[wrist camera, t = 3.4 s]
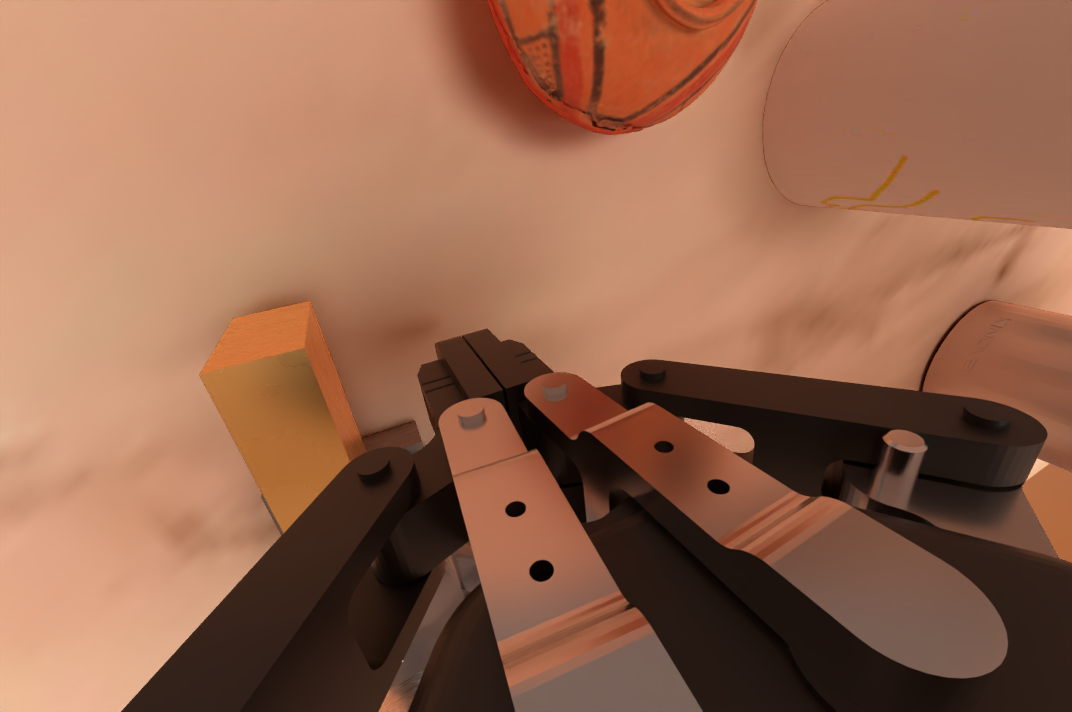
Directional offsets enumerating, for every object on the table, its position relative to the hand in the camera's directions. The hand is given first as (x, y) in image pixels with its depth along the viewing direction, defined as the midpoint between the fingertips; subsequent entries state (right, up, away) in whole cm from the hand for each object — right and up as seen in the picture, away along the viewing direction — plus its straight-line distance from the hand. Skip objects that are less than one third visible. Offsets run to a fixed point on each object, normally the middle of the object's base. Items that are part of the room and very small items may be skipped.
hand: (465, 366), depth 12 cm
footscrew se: (-4, -3, +2) cm, 6 cm away
